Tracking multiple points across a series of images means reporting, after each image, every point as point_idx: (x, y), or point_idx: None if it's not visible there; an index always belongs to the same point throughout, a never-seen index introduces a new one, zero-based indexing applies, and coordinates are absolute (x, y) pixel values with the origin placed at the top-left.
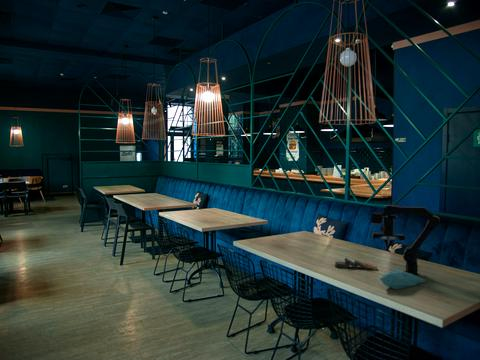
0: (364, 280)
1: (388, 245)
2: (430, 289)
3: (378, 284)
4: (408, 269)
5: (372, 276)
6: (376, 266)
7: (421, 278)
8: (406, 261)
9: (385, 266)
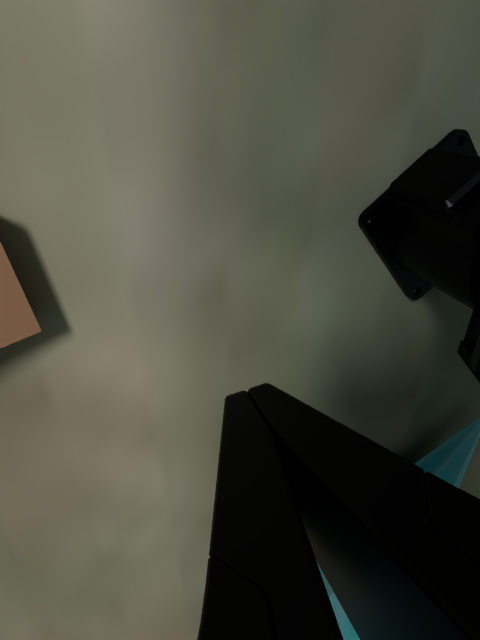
0: (27, 636)
1: (341, 595)
2: None
3: (151, 628)
4: (428, 282)
5: (59, 525)
6: (6, 261)
7: (466, 468)
8: (477, 377)
9: (113, 14)
